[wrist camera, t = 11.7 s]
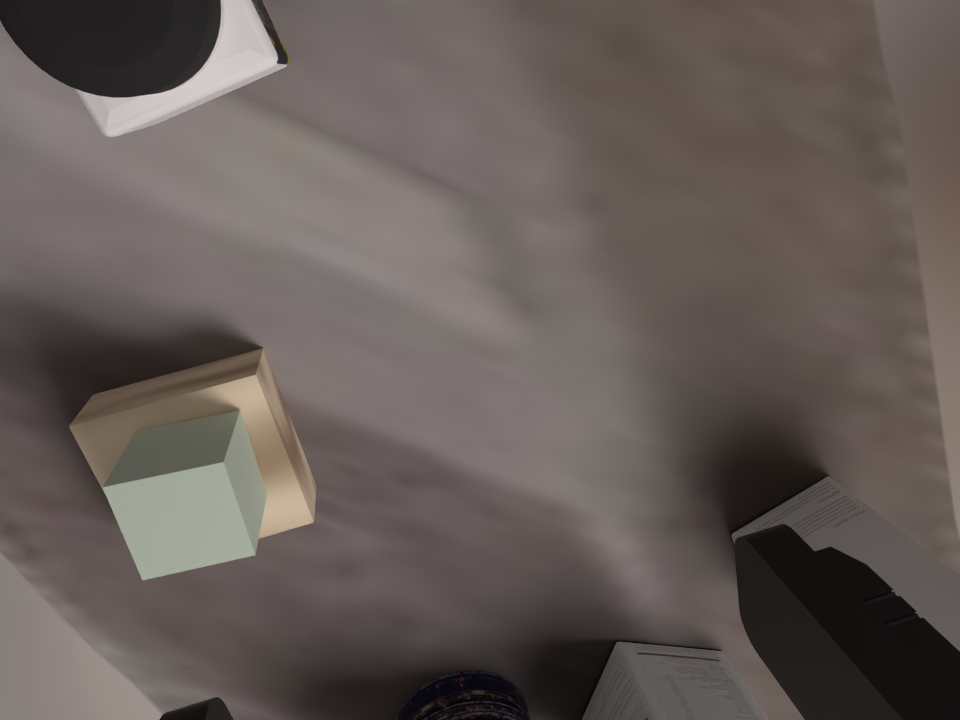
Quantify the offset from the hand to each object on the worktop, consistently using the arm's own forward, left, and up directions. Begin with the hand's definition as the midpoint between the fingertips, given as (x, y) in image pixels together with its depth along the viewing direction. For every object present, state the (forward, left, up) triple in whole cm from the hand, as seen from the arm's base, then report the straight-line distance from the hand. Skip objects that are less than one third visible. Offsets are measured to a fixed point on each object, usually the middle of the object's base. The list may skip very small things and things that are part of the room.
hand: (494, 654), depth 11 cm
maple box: (+8, -12, -28) cm, 32 cm away
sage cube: (+8, -12, -24) cm, 28 cm away
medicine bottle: (-12, -6, -28) cm, 31 cm away
